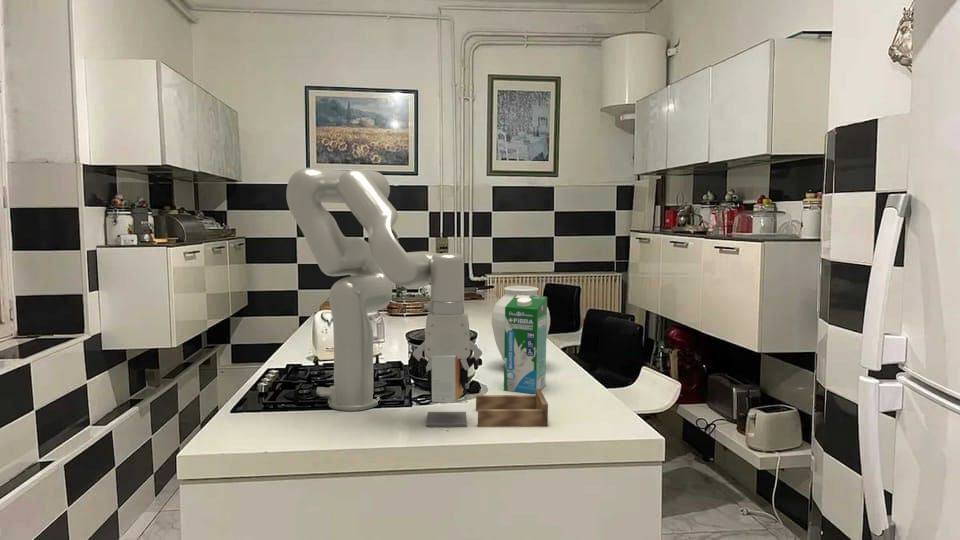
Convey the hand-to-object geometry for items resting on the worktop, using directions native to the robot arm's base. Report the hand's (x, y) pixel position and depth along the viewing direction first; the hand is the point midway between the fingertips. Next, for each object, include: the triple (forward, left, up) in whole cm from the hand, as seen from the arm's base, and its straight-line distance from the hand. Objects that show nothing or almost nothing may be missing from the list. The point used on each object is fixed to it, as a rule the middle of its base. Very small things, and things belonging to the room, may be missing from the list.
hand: (447, 385), depth 147 cm
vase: (+22, +49, -8) cm, 54 cm away
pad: (0, 0, -8) cm, 8 cm away
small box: (0, 0, -3) cm, 3 cm away
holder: (+15, +2, -8) cm, 17 cm away
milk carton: (+21, +27, -8) cm, 35 cm away
